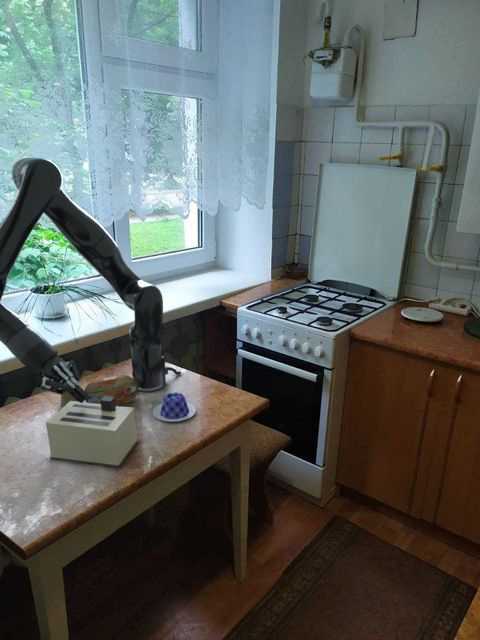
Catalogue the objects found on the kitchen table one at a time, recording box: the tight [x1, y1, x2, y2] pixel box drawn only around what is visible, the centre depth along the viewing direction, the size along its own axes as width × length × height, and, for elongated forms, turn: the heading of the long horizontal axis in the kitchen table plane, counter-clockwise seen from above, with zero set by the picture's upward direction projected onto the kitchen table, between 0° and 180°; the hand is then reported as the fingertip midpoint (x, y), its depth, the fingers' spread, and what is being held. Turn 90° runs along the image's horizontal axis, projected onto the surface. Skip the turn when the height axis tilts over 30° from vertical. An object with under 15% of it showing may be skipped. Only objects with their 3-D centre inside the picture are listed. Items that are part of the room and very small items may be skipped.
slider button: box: [101, 396, 116, 412], centre depth 121 cm, size 2×3×3 cm
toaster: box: [45, 401, 139, 469], centre depth 121 cm, size 13×17×10 cm
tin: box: [84, 374, 139, 406], centre depth 143 cm, size 15×3×8 cm, turn 117°
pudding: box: [152, 392, 197, 422], centre depth 140 cm, size 12×12×5 cm
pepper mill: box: [60, 377, 78, 410], centre depth 140 cm, size 6×6×11 cm
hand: (85, 399), depth 121 cm, fingers closed
